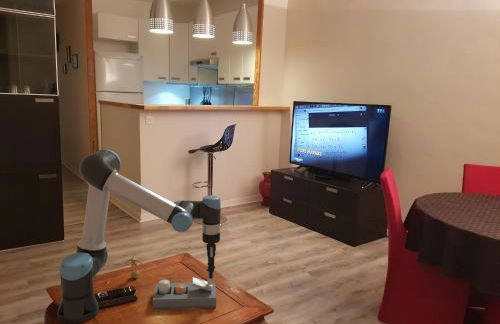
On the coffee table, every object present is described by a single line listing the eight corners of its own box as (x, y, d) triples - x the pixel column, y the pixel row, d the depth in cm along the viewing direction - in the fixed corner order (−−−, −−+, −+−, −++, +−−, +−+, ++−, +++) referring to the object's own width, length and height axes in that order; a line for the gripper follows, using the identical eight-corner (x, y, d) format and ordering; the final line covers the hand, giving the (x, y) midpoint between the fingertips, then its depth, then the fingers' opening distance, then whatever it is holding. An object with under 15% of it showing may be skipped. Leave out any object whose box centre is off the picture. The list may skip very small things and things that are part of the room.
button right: (174, 299, 169) (175, 289, 168) (175, 293, 173) (175, 284, 173) (185, 299, 170) (186, 289, 169) (186, 293, 174) (186, 284, 173)
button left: (158, 294, 168) (158, 285, 167) (159, 289, 172) (159, 279, 171) (169, 294, 168) (169, 284, 167) (170, 289, 173) (170, 279, 172)
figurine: (144, 276, 192) (144, 252, 190) (141, 282, 187) (141, 258, 184) (127, 275, 192) (126, 252, 190) (124, 281, 186) (123, 257, 184)
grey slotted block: (152, 309, 164) (152, 296, 163) (156, 292, 177) (156, 280, 176) (216, 307, 167) (216, 295, 166) (214, 291, 181) (215, 279, 180)
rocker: (191, 287, 168) (192, 283, 168) (191, 280, 174) (193, 277, 174) (211, 293, 170) (212, 289, 170) (211, 286, 176) (212, 282, 175)
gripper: (220, 237, 162) (220, 291, 166) (219, 226, 175) (218, 276, 179) (202, 237, 161) (202, 291, 165) (202, 227, 174) (201, 277, 178)
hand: (210, 283), depth 172 cm, fingers closed
